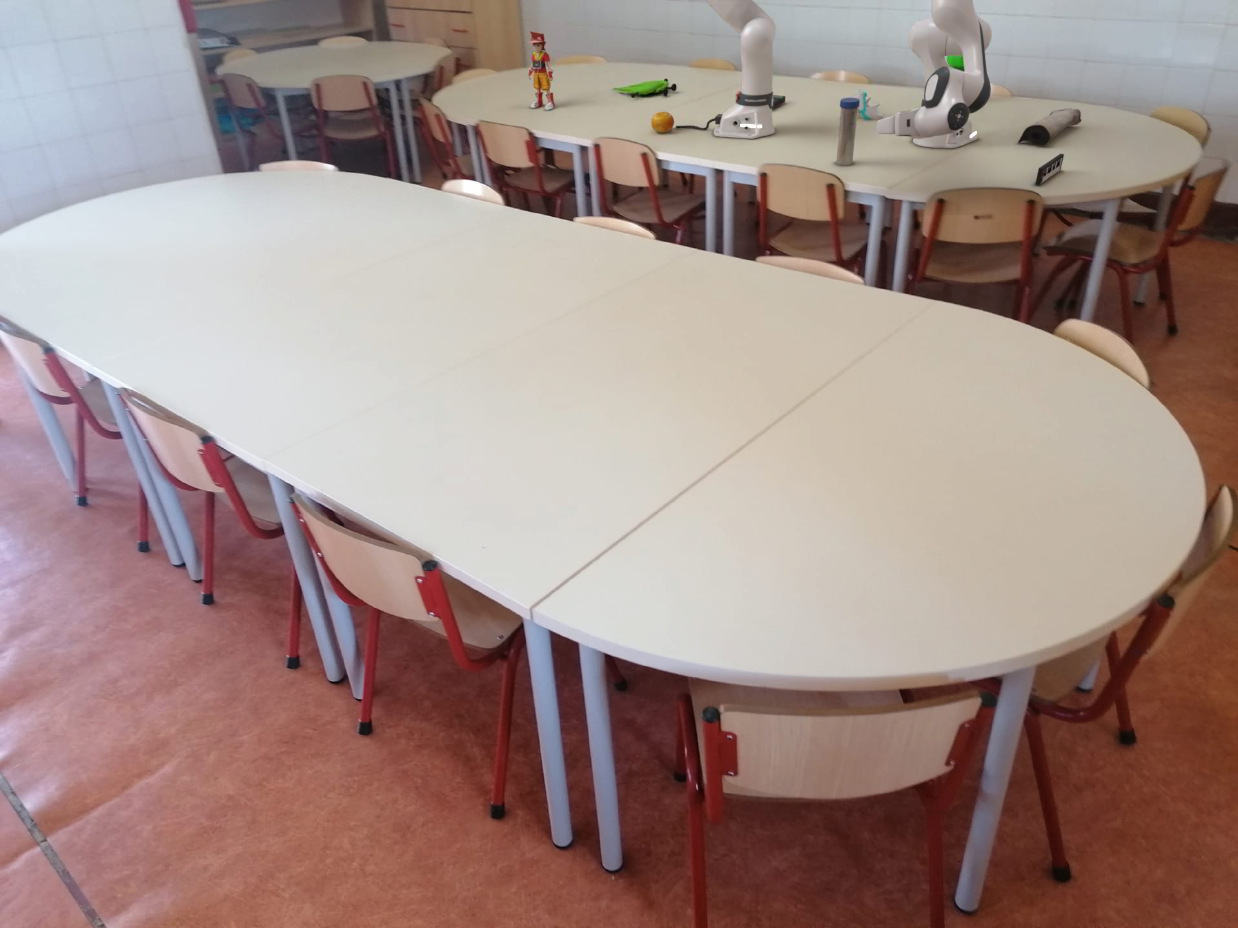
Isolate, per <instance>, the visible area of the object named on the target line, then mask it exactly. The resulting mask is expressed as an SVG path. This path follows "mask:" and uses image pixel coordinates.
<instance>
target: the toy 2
mask: <svg viewBox="0 0 1238 928" xmlns="http://www.w3.org/2000/svg"><path fill="white" fill-rule="evenodd" d="M669 85H670V83H669V79H668V78H664V79H663V80H649V81H644V82H640V83H634V84H629V85H627V86H621V87H613V88H612V89H613V90H616V91H619V92H623V93H627V94H628V93H629V94H631V95H630V96H631V98H632V99H634V98H636V96H637V95H650V94H652V93H654V94H658V93H662V95H663V96H665V97H667V96H668V95H669V90H671V91H672V92H676V91H677V84H676V83H672V84H671V86H669Z"/></svg>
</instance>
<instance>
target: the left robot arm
mask: <svg viewBox="0 0 1238 928" xmlns="http://www.w3.org/2000/svg"><path fill="white" fill-rule="evenodd" d="M705 2H706V3H707V4H708V5H709V7H711V9H712V10H713V11H714V12H715V13H716V14H717V15H718V16H719V17H720V18H721V19H722V21H723V22H724V23H726V24H727V25H729V26H730V27H731V28H732V29H733V30H735V31H736V32H737V33H738V34H739V35H740V58H741V62H740V63H741V90H737V91H736V92H735V103H734V104H733V105H732V106H730V107H729V108H727V110H726V111H724V113H718V114H717V115H716V116H714V118H711V119H709V120H708V121H707V122H706V125H705V127H699V126H697V125H691V124H690V125H686V124H685V125H675V129H695V130H700V131H706V130H708V129H709V127H710V124H711V123H712V122H714V124H715V125H717V126H715V128H714V130H713V135H714V136H715V137H721V138H722V137H723V138H736V139H737V138H738V139H750V140H753V139H754V140H755V139H758V138H761V137H766V136H770V135H773V134H774V133H775V132H776V131H775V127H774V120H773V109H772V106H773V95H774V91H773V77H774V76H773V75H774V67H773V66H774V64H773V63H774V61H773V45H774V44H773V43H774V39H775V37H776V35H777V34H776V33H777V27H776V23H775V21H774V19H773V17H771V16H770V15H769V14H768V13H767V12H766V11H765V10H764V9H763V8H762V7H761V6H759V4H758V3H756V2H755V1H754V0H705Z"/></svg>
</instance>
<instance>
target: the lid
mask: <svg viewBox="0 0 1238 928" xmlns="http://www.w3.org/2000/svg"><path fill="white" fill-rule="evenodd" d="M859 103H860V100H859V99H858V98H851V97H843V98H841V99H840V101H839V107H840V109H841V108H845V109H854V108H858V107H859Z"/></svg>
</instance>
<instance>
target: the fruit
mask: <svg viewBox="0 0 1238 928" xmlns="http://www.w3.org/2000/svg"><path fill="white" fill-rule="evenodd" d="M650 125H651V128H652V130H653V131H655V132H656V133H668V132H670V131H672V129H673V128H674V125H675V119H674V116H673V114H671V113H669V112H668V111H659V112H656V113H655V114H654V115H652V117H651V121H650Z"/></svg>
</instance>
